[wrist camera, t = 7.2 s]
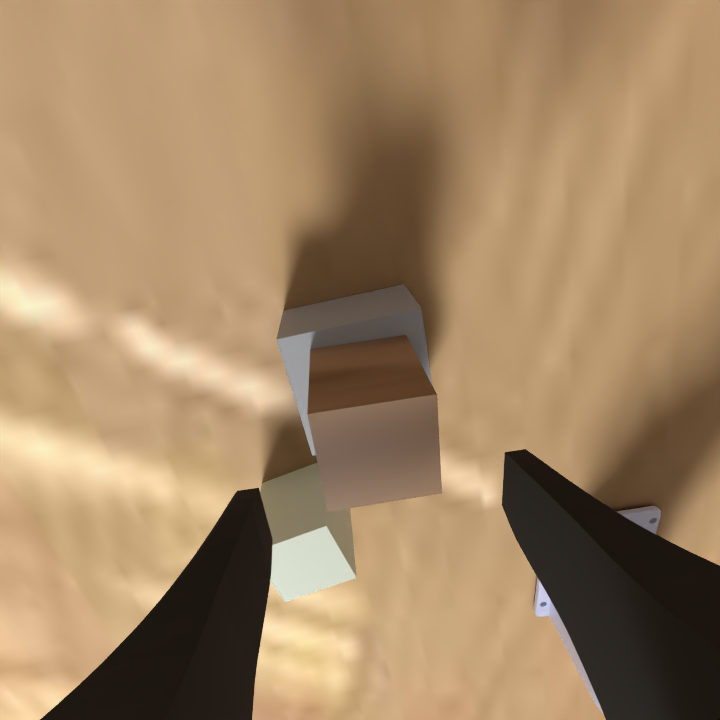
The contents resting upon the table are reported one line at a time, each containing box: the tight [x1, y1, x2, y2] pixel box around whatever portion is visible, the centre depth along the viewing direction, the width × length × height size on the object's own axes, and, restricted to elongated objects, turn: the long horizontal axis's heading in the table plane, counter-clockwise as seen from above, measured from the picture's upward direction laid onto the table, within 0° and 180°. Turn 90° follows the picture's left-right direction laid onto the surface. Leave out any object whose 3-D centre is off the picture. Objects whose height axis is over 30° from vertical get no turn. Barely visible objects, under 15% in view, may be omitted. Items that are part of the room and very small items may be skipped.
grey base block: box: [277, 284, 432, 456], centre depth 20 cm, size 6×6×4 cm
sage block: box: [260, 463, 356, 602], centre depth 23 cm, size 4×4×5 cm
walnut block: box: [307, 335, 442, 512], centre depth 16 cm, size 4×4×5 cm
